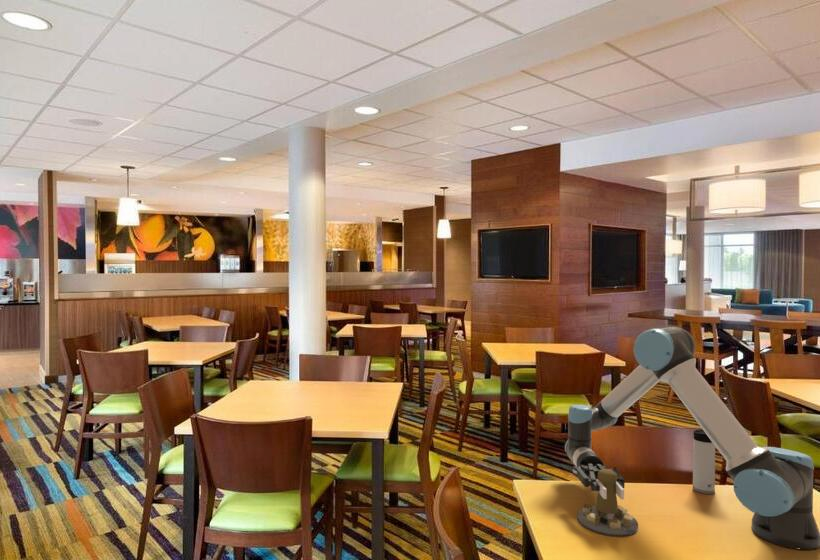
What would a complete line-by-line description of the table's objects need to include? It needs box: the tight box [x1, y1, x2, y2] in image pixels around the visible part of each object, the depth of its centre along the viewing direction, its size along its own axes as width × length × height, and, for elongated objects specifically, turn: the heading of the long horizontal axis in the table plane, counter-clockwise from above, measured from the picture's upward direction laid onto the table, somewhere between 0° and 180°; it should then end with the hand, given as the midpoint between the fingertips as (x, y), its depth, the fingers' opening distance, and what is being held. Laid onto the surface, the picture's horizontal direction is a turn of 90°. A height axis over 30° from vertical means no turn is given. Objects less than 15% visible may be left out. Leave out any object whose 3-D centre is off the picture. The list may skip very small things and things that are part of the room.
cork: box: [595, 468, 619, 514], centre depth 145 cm, size 6×6×11 cm
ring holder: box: [577, 501, 639, 538], centre depth 145 cm, size 16×16×3 cm
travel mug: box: [692, 428, 716, 495], centre depth 167 cm, size 6×7×20 cm
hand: (613, 494), depth 140 cm, fingers closed on cork, 4 cm apart
